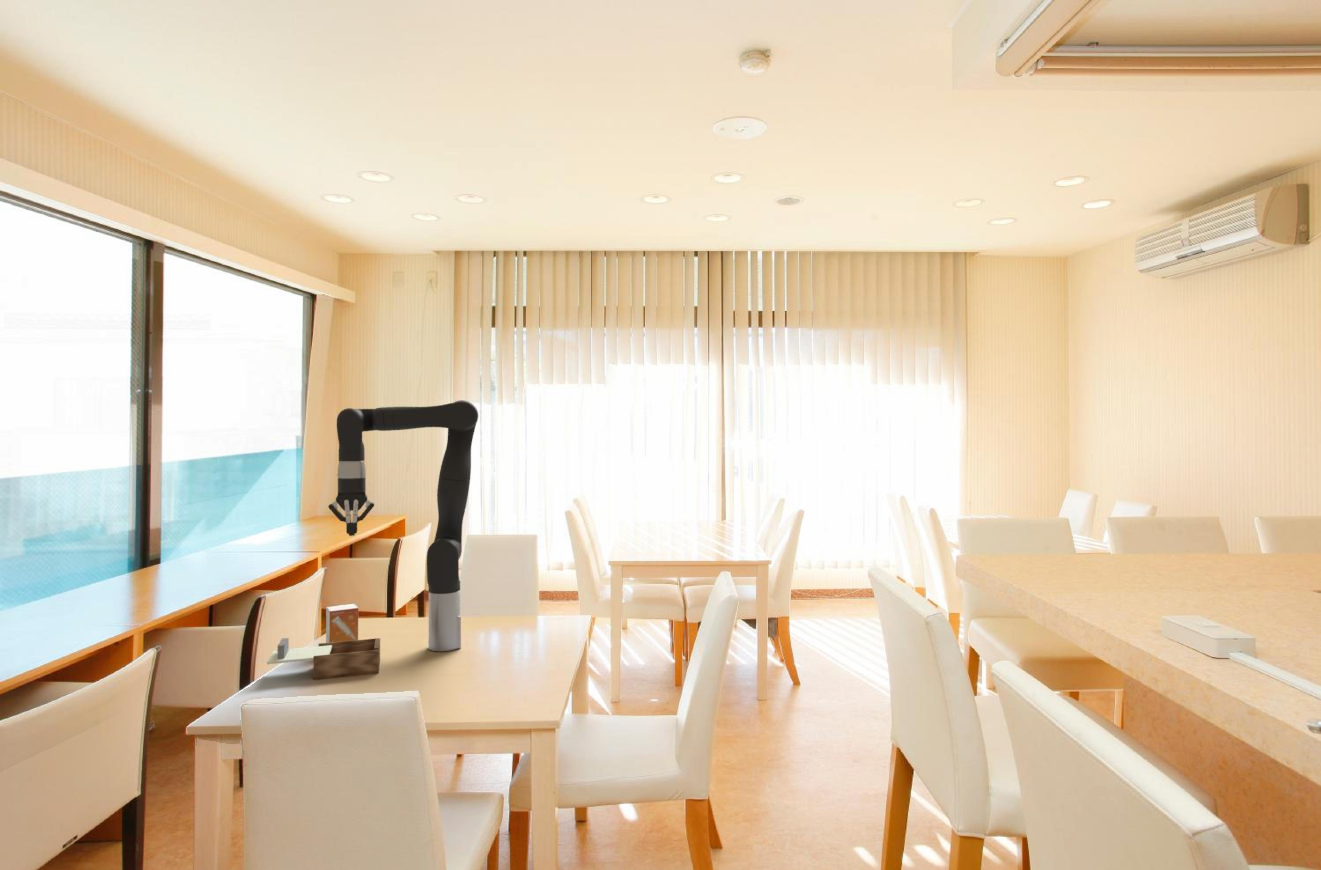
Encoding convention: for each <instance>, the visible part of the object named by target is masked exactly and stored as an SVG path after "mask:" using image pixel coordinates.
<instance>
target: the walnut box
mask: <svg viewBox="0 0 1321 870" xmlns="http://www.w3.org/2000/svg"><path fill="white" fill-rule="evenodd" d="M327 645H332V649H331V652H330V654H329V655H318V656H314V660H313V680H325V679H333V678H343V677H345V678H346V677H353V676H354V677H355V676H362V675H373V674H374V675H375V674H379V672H380V666H381V665H380V664H381V638H379V637H377V638H369V639H368V638H367V639H358V640H353V641H342V642H331V643H326V642H322V643H318V646H327Z"/></svg>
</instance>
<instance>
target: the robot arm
mask: <svg viewBox="0 0 1321 870" xmlns="http://www.w3.org/2000/svg"><path fill="white" fill-rule="evenodd" d="M478 419H479V411H478V409H477V406H475V404H474V403H472V402H470V401H469V400H461V399H459V400H455V401H454V402H450V403H446V404H445V403H444V404H441V405H429V406H384V407H383V406H381V407H375V408H351V407H349V408H344V409H342V410H341V411H340V412H339V413H338V414H337V418H336V431H337V432H336V433H337V441H338V465H337V474H336V476H337V495H336V498H335V501H333V502H332V503H330V504H329V505H328V506H327V507H328V509H329V510H330V511H331V512H332V513H333V514H334V516H335V517H336V518H337V519H338V520H339V521H340V522H343V523H346V524H345V525H346V526H345V527H346V528H345V529H346V534H347V535H348V536H349V537H350V536H351V537H353V536H354V537H355V535H356V534H357V532H358V522H361V521H364V519H365V518H366V516H368V514H369V513H370V512H371V510H372V509H373V508H374V507H375V503H374V502H372V501H370V500H369V499H368V495H367V494H366V490H367V489H366V485H367V484H366V474H367V472H366V463H365V462H366V461H365V457H366V456H365V453H366V452H365V445H364V442H363V433H364V432H370V431H371V432H373V431H380V432H389V431H404V430H412V429H413V430H414V429H421V428H422V429H423V428H443V429H444V428H445V429H447V443H446V447H445V451H444V454H443V458H442V461H441V465H440V469H439V474H438V482H437V491H436V497H437V498H436V499H437V500H436V501H437V502H436V503H437V512H438V521H437V528H436V531H435V536H434V540H433V542H432V543H431V544H430V546H429V547H428V549H427V552H426V582H427V587H428V650H430V651H433V652H449V651H453V650H457V649H461V648H462V616H461V580H460V571H459V565H460V564H459V560H460V559H461V556H462V553H463V552H462V549H463V548H462V545H463V543H462V542H463V541H462V540H463V539H462V538H463V537H462V535H463V523H464V516H465V512H466V507H467V502H468V498H469V492H470V484H471V472H472V444H473V440H474V439H473V438H474V434H475V430H476V427H477V424H478ZM364 505H365V506H364ZM363 506H364V507H365V509H364V511H363V512H362V513H361V514H360V515H359V510H361V509H362V508H363ZM339 507H340V508H341V509H342V511H344V513H345V516H344V515H343V514H342V513H341V512H340V511H339ZM351 511H352V513H351ZM358 515H359V516H358ZM351 516H352V517H351Z"/></svg>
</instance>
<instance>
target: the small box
mask: <svg viewBox="0 0 1321 870" xmlns="http://www.w3.org/2000/svg"><path fill="white" fill-rule="evenodd" d="M325 617H326V618H325V620H326V621H325V624H326V625H325V626H326V627H325V643H331V642H342V641H353V640H359V607H358V605H356V603H351V604H350V603H349V604H340V605H334V606H326V608H325Z"/></svg>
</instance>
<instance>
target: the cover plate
mask: <svg viewBox="0 0 1321 870" xmlns="http://www.w3.org/2000/svg"><path fill="white" fill-rule="evenodd" d="M289 645H290V644H289V637H286V638H285V637H284V638H281V639H280V641H279V643H278V644H277V649H274V650H273V652H272V653H271V655H270V657H269V658H268V660H267V661H266V665H273V664H274V665H275V664H284V663H297V662H307V661H314V656H318V655H329V654H330V652H331V649H332V645H327V646H319V645H317V646H306V647H298V648H297V647H295V648H289Z"/></svg>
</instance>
